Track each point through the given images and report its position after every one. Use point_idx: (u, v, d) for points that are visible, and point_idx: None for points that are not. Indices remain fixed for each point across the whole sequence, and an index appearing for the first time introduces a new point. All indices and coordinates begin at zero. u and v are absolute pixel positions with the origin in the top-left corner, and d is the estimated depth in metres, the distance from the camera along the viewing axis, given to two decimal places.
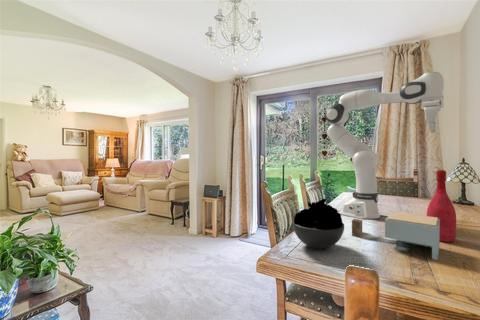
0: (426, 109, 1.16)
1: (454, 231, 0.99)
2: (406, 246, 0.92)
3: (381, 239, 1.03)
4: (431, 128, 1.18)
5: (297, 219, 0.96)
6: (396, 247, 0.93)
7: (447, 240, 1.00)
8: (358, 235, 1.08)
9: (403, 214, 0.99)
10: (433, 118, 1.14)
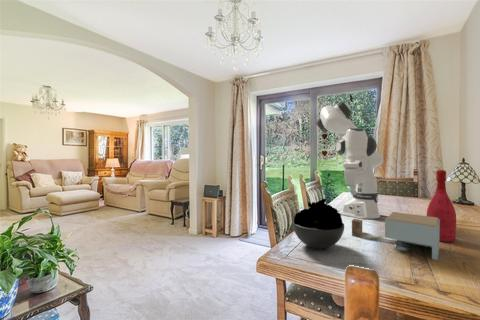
0: (345, 171, 1.04)
1: (454, 231, 0.99)
2: (406, 246, 0.92)
3: (381, 239, 1.03)
4: (353, 191, 1.06)
5: (297, 219, 0.96)
6: (396, 247, 0.93)
7: (447, 240, 1.00)
8: (358, 235, 1.08)
9: (403, 214, 0.99)
10: (352, 183, 1.02)
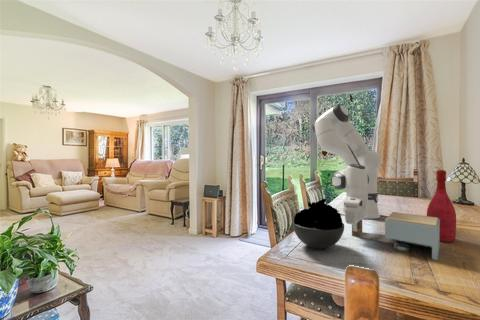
0: (346, 210, 1.04)
1: (454, 231, 0.99)
2: (406, 246, 0.92)
3: (381, 239, 1.03)
4: (355, 228, 1.08)
5: (297, 219, 0.96)
6: (396, 247, 0.93)
7: (447, 240, 1.00)
8: (358, 235, 1.08)
9: (403, 214, 0.99)
10: (352, 222, 1.02)
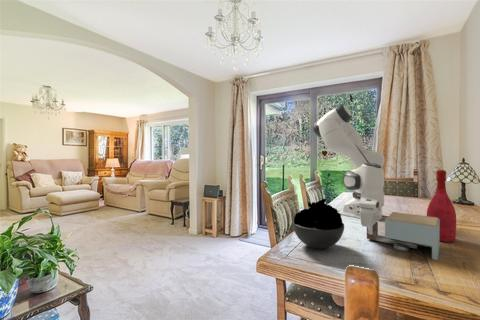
0: (361, 212, 0.98)
1: (454, 231, 0.99)
2: (406, 246, 0.92)
3: None
4: (370, 231, 1.01)
5: (297, 219, 0.96)
6: (396, 247, 0.93)
7: (447, 240, 1.00)
8: (374, 238, 1.02)
9: (403, 214, 0.99)
10: (368, 225, 0.96)
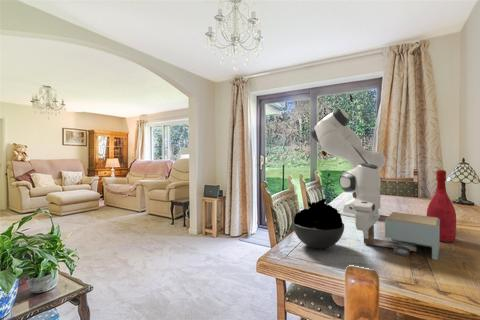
0: (356, 215, 0.93)
1: (454, 231, 0.99)
2: (406, 249, 0.89)
3: None
4: (366, 235, 0.97)
5: (297, 219, 0.96)
6: (396, 250, 0.89)
7: (447, 240, 1.00)
8: (371, 243, 0.97)
9: (403, 214, 0.99)
10: (364, 228, 0.91)
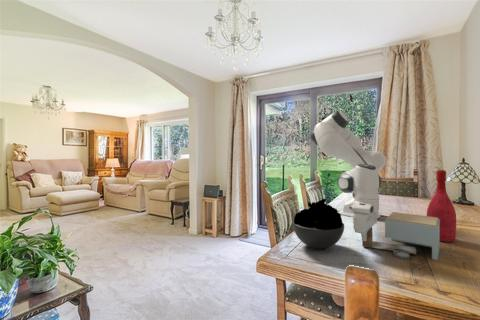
0: (354, 217, 0.91)
1: (454, 231, 0.99)
2: (407, 252, 0.86)
3: None
4: (364, 237, 0.94)
5: (297, 219, 0.96)
6: (397, 254, 0.87)
7: (447, 240, 1.00)
8: (370, 245, 0.95)
9: (403, 214, 0.99)
10: (362, 231, 0.89)
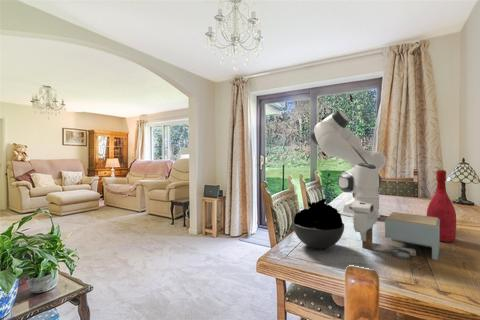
0: (354, 216, 0.91)
1: (454, 231, 0.99)
2: (407, 252, 0.86)
3: None
4: (364, 237, 0.93)
5: (297, 219, 0.96)
6: (397, 254, 0.87)
7: (447, 240, 1.00)
8: (370, 247, 0.95)
9: (403, 214, 0.99)
10: (362, 230, 0.89)
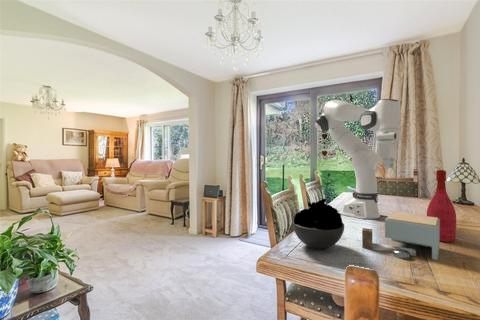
0: (379, 143, 0.98)
1: (454, 231, 0.99)
2: (407, 252, 0.86)
3: None
4: (386, 165, 1.00)
5: (297, 219, 0.96)
6: (397, 254, 0.87)
7: (447, 240, 1.00)
8: (370, 247, 0.95)
9: (403, 214, 0.99)
10: (386, 155, 0.96)
